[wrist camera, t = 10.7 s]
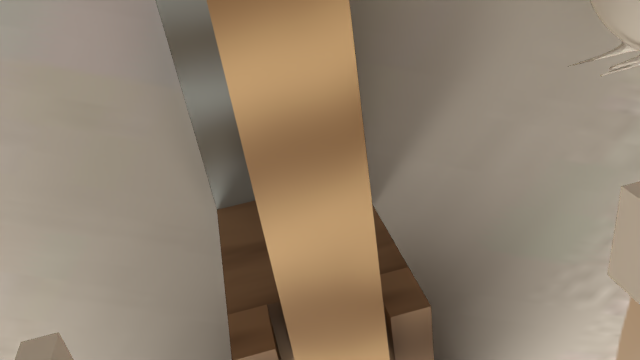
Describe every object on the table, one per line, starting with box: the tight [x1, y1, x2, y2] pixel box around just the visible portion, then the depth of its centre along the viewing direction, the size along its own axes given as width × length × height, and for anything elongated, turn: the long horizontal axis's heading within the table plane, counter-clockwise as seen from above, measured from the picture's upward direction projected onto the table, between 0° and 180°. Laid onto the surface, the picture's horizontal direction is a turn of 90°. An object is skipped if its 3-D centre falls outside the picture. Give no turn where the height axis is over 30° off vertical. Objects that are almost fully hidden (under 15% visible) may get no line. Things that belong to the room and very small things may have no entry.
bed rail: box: [207, 0, 390, 360], centre depth 20 cm, size 28×4×5 cm, turn 8°
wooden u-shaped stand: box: [156, 0, 434, 360], centre depth 26 cm, size 32×10×14 cm, turn 8°
